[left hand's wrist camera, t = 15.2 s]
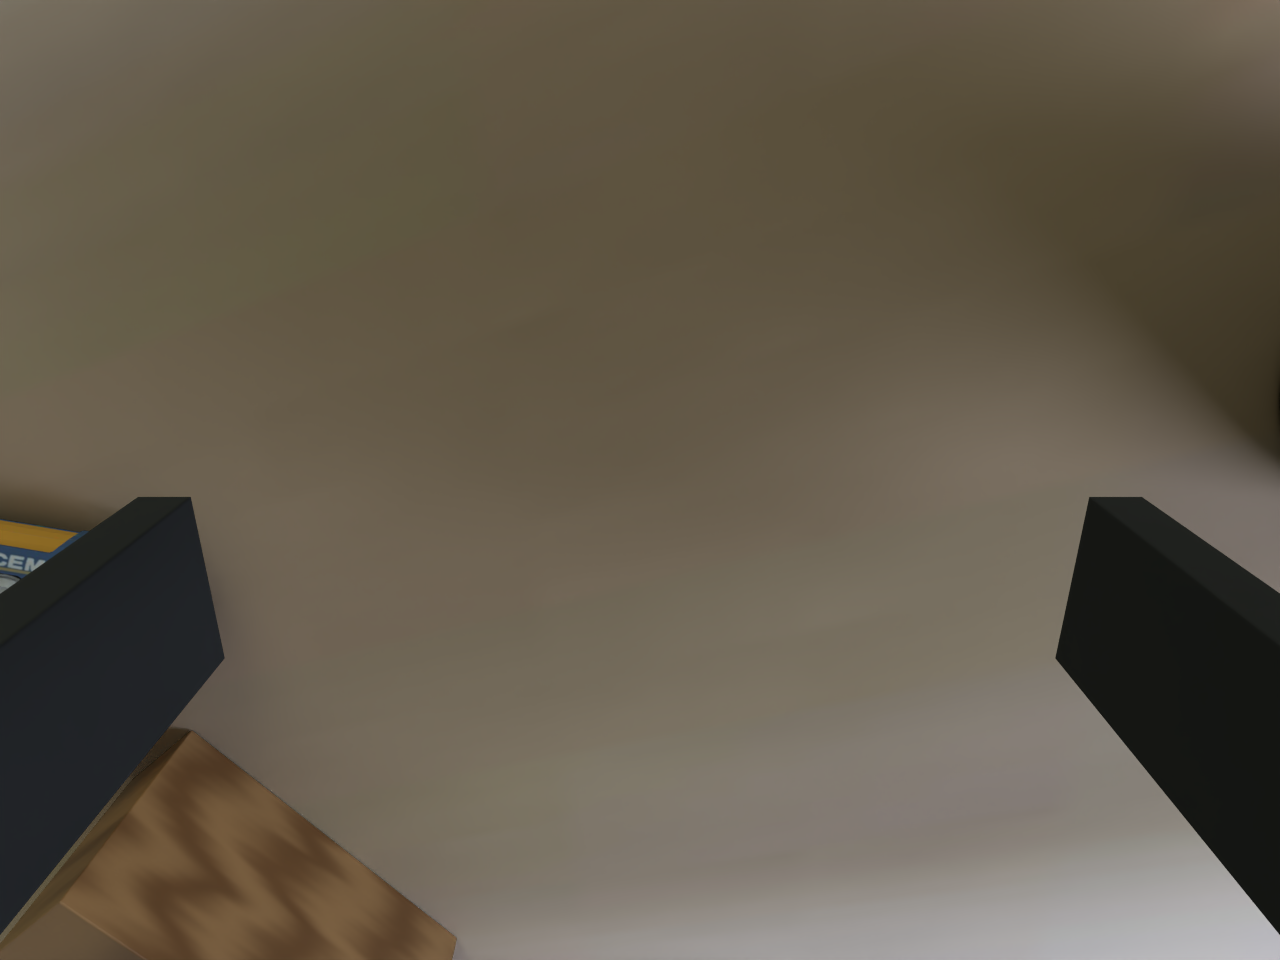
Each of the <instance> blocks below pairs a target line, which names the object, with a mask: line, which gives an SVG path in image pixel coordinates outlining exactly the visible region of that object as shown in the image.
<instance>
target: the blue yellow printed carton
mask: <svg viewBox="0 0 1280 960" xmlns="http://www.w3.org/2000/svg"><path fill="white" fill-rule="evenodd" d="M88 532H89V531H81V532H75V531H69V530H63V529H57V528H51V527H45V526H39V525H33V524H27V523H21V522H15V521H9V520H3V519H0V593H2V592H3V591H5V590H6V589H7V588H9V587H10V586H12V585H13V584H15V583H16V582H17V581H19V580H20V579H22V578H23V577H25V576H26V575H27V574H29V573H30V572H32V571H33V570H35V569H36V568H38V567H39V566H40V565H42V564H43V563H45V562H46V561H48V560H49V559H50V558H52V557H53V556H55V555H56V554H58V553H59V552H60V551H62V550H63V549H65V548H66V547H68V546H69V545H70V544H72V543H73V542H75V541H76V540H78V539H79V538H80V537H82V536H83V535H85V534H86V533H88Z"/></svg>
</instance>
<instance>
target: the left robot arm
mask: <svg viewBox="0 0 1280 960" xmlns="http://www.w3.org/2000/svg"><path fill="white" fill-rule="evenodd" d="M223 659H224V653H223V649H222V644H221V639H220V634H219V630H218V625H217V620H216V615H215V611H214V606H213V601H212V596H211V592H210V587H209V582H208V577H207V573H206V568H205V563H204V558H203V554H202V549H201V544H200V539H199V535H198V530H197V525H196V520H195V516H194V511H193V506H192V501H191V497H138V498H136V499H135V500H133V501H132V502H130V503H129V504H128V505H126V506H125V507H123V508H122V509H120V510H119V511H118V512H116V513H115V514H113V515H112V516H110V517H109V518H108V519H106V520H105V521H103V522H102V523H100V524H99V525H98V526H96V527H95V528H93V529H92V530H90V531H89V532H88V533H86V534H85V535H83V536H82V537H80V538H79V539H78V540H76V541H75V542H73V543H72V544H70V545H69V546H68V547H66V548H65V549H63V550H62V551H60V552H59V553H58V554H56V555H55V556H53V557H52V558H50V559H49V560H48V561H46V562H45V563H43V564H42V565H40V566H39V567H38V568H36V569H35V570H33V571H32V572H30V573H29V574H27V575H26V576H25V577H23V578H22V579H20V580H19V581H17V582H16V583H15V584H13V585H12V586H10V587H9V588H7V589H6V590H5V591H3V592H2V593H0V934H1V933H2V932H3V931H4V929H5V928H6V927H7V926H8V924H9V923H10V922H11V921H12V920H13V918H14V917H15V916H16V915H17V913H18V912H19V911H20V910H21V908H22V907H23V906H24V905H25V904H26V902H27V901H28V900H29V899H30V897H31V896H32V895H33V894H34V892H35V891H36V890H37V889H38V888H39V886H40V885H41V884H42V883H43V881H44V880H45V879H46V878H47V876H48V875H49V874H50V873H51V871H52V870H53V869H54V868H55V867H56V865H57V864H58V863H59V862H60V860H61V859H62V858H63V857H64V855H65V854H66V853H67V852H68V851H69V849H70V848H71V847H72V846H73V844H74V843H75V842H76V841H77V839H78V838H79V837H80V836H81V835H82V833H83V832H84V831H85V830H86V828H87V827H88V826H89V825H90V823H91V822H92V821H93V820H94V818H95V817H96V816H97V815H98V814H99V812H100V811H101V810H102V809H103V807H104V806H105V805H106V804H107V802H108V801H109V800H110V799H111V798H112V796H113V795H114V794H115V793H116V791H117V790H118V789H119V788H120V786H121V785H122V784H123V783H124V782H125V780H126V779H127V778H128V777H129V775H130V774H131V773H132V772H133V770H134V769H135V768H136V767H137V765H138V764H139V763H140V762H141V761H142V759H143V758H144V757H145V756H146V754H147V753H148V752H149V751H150V749H151V748H152V747H153V746H154V745H155V743H156V742H157V741H158V740H159V738H160V737H161V736H162V735H163V733H164V732H165V731H166V730H167V729H168V727H169V726H170V725H171V724H172V722H173V721H174V720H175V719H176V717H177V716H178V715H179V714H180V712H181V711H182V710H183V709H184V708H185V706H186V705H187V704H188V703H189V701H190V700H191V699H192V698H193V696H194V695H195V694H196V693H197V692H198V690H199V689H200V688H201V687H202V685H203V684H204V683H205V682H206V680H207V679H208V678H209V677H210V676H211V674H212V673H213V672H214V671H215V669H216V668H217V667H218V666H219V664H220V663H221V662H222V661H223ZM1056 659H1057V661H1058V662H1059V663H1060V664H1061V666H1062V667H1063V668H1064V669H1065V671H1066V672H1067V673H1068V674H1069V676H1070V677H1071V678H1072V679H1073V680H1074V682H1075V683H1076V684H1077V685H1078V687H1079V688H1080V689H1081V690H1082V692H1083V693H1084V694H1085V695H1086V696H1087V698H1088V699H1089V700H1090V701H1091V703H1092V704H1093V705H1094V706H1095V708H1096V709H1097V710H1098V711H1099V712H1100V714H1101V715H1102V716H1103V717H1104V719H1105V720H1106V721H1107V722H1108V724H1109V725H1110V726H1111V727H1112V729H1113V730H1114V731H1115V732H1116V733H1117V735H1118V736H1119V737H1120V738H1121V740H1122V741H1123V742H1124V743H1125V745H1126V746H1127V747H1128V748H1129V749H1130V751H1131V752H1132V753H1133V754H1134V756H1135V757H1136V758H1137V759H1138V761H1139V762H1140V763H1141V764H1142V765H1143V767H1144V768H1145V769H1146V770H1147V772H1148V773H1149V774H1150V775H1151V777H1152V778H1153V779H1154V780H1155V782H1156V783H1157V784H1158V785H1159V786H1160V788H1161V789H1162V790H1163V791H1164V793H1165V794H1166V795H1167V796H1168V798H1169V799H1170V800H1171V801H1172V802H1173V804H1174V805H1175V806H1176V807H1177V809H1178V810H1179V811H1180V812H1181V814H1182V815H1183V816H1184V817H1185V818H1186V820H1187V821H1188V822H1189V823H1190V825H1191V826H1192V827H1193V828H1194V830H1195V831H1196V832H1197V833H1198V835H1199V836H1200V837H1201V838H1202V839H1203V841H1204V842H1205V843H1206V844H1207V846H1208V847H1209V848H1210V849H1211V851H1212V852H1213V853H1214V854H1215V855H1216V857H1217V858H1218V859H1219V860H1220V862H1221V863H1222V864H1223V865H1224V867H1225V868H1226V869H1227V870H1228V871H1229V873H1230V874H1231V875H1232V876H1233V878H1234V879H1235V880H1236V881H1237V883H1238V884H1239V885H1240V886H1241V888H1242V889H1243V890H1244V891H1245V892H1246V894H1247V895H1248V896H1249V897H1250V899H1251V900H1252V901H1253V902H1254V904H1255V905H1256V906H1257V907H1258V908H1259V910H1260V911H1261V912H1262V913H1263V915H1264V916H1265V917H1266V918H1267V920H1268V921H1269V922H1270V923H1271V924H1272V926H1273V927H1274V928H1275V929H1276V931H1277V932H1278V933H1279V934H1280V593H1278V592H1277V591H1275V590H1274V589H1273V588H1271V587H1270V586H1268V585H1267V584H1265V583H1264V582H1263V581H1261V580H1260V579H1258V578H1257V577H1255V576H1254V575H1253V574H1251V573H1250V572H1248V571H1247V570H1245V569H1244V568H1242V567H1241V566H1240V565H1238V564H1237V563H1235V562H1234V561H1232V560H1231V559H1230V558H1228V557H1227V556H1225V555H1224V554H1222V553H1221V552H1220V551H1218V550H1217V549H1215V548H1214V547H1212V546H1211V545H1210V544H1208V543H1207V542H1205V541H1204V540H1202V539H1201V538H1200V537H1198V536H1197V535H1195V534H1194V533H1192V532H1191V531H1190V530H1188V529H1187V528H1185V527H1184V526H1182V525H1181V524H1180V523H1178V522H1177V521H1175V520H1174V519H1172V518H1171V517H1170V516H1168V515H1167V514H1165V513H1164V512H1162V511H1161V510H1160V509H1158V508H1157V507H1155V506H1154V505H1152V504H1151V503H1150V502H1148V501H1147V500H1145V499H1144V498H1142V497H1089V501H1088V506H1087V511H1086V516H1085V520H1084V525H1083V530H1082V535H1081V539H1080V544H1079V549H1078V554H1077V558H1076V563H1075V568H1074V573H1073V577H1072V582H1071V587H1070V592H1069V596H1068V601H1067V606H1066V611H1065V615H1064V620H1063V625H1062V630H1061V634H1060V639H1059V644H1058V649H1057V653H1056Z"/></svg>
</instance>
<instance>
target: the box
mask: <svg viewBox="0 0 1280 960" xmlns="http://www.w3.org/2000/svg"><path fill="white" fill-rule="evenodd" d="M456 940H457V938H456V937H455V936H454V935H452V934H451V933H450V932H448V931H447V930H446V929H445V928H443V927H442V926H441V925H440V924H438V923H437V922H436V921H434V920H433V919H432V918H431V917H429V916H428V915H427V914H426V913H424V912H423V911H422V910H420V909H419V908H418V907H417V906H415V905H414V904H413V903H412V902H410V901H409V900H408V899H406V898H405V897H404V896H403V895H401V894H400V893H399V892H397V891H396V890H395V889H394V888H392V887H391V886H390V885H389V884H387V883H386V882H385V881H383V880H382V879H381V878H380V877H378V876H377V875H376V874H375V873H373V872H372V871H371V870H369V869H368V868H367V867H366V866H364V865H363V864H362V863H360V862H359V861H358V860H357V859H355V858H354V857H353V856H352V855H350V854H349V853H348V852H346V851H345V850H344V849H343V848H341V847H340V846H339V845H338V844H336V843H335V842H334V841H332V840H331V839H330V838H329V837H327V836H326V835H325V834H324V833H322V832H321V831H320V830H318V829H317V828H316V827H315V826H313V825H312V824H311V823H309V822H308V821H307V820H306V819H304V818H303V817H302V816H301V815H299V814H298V813H297V812H295V811H294V810H293V809H292V808H290V807H289V806H288V805H287V804H285V803H284V802H283V801H281V800H280V799H279V798H278V797H276V796H275V795H274V794H272V793H271V792H270V791H269V790H267V789H266V788H265V787H264V786H262V785H261V784H260V783H258V782H257V781H256V780H255V779H253V778H252V777H251V776H250V775H248V774H247V773H246V772H244V771H243V770H242V769H241V768H239V767H238V766H237V765H236V764H234V763H233V762H232V761H230V760H229V759H228V758H227V757H225V756H224V755H223V754H221V753H220V752H219V751H218V750H216V749H215V748H214V747H213V746H211V745H210V744H209V743H207V742H206V741H205V740H204V739H202V738H201V737H200V736H199V735H197V734H196V733H195V732H193V731H190V732H188V733H187V734H186V735H185V736H184V737H182V738H181V739H180V740H179V741H178V742H177V743H175V744H174V745H173V746H172V747H171V748H169V749H168V750H167V751H166V752H165V753H163V754H162V755H161V756H160V757H159V758H158V759H156V760H155V761H154V762H153V763H152V764H150V765H149V766H148V767H147V768H146V769H145V770H143V771H142V772H141V773H140V774H139V775H137V776H136V777H135V778H134V779H133V780H131V782H130V783H129V784H128V785H127V786H126V788H125V789H124V790H123V791H122V793H121V794H120V795H119V796H118V798H117V799H116V800H115V801H114V803H113V804H112V805H111V806H110V808H109V809H108V810H107V811H106V813H105V814H104V815H103V816H102V818H101V819H100V820H99V821H98V823H97V824H96V825H95V826H94V828H93V829H92V830H91V831H90V833H89V834H88V835H87V836H86V838H85V839H84V840H83V841H82V843H81V844H80V845H79V846H78V848H77V849H76V850H75V851H74V853H73V854H72V855H71V856H70V858H69V859H68V860H67V861H66V863H65V864H64V865H63V866H62V868H61V869H60V870H59V871H58V873H57V874H56V875H55V876H54V878H53V879H52V880H51V881H50V882H49V884H48V885H47V886H46V887H45V889H44V890H43V891H42V892H41V894H40V895H39V896H38V897H37V899H36V900H35V901H34V902H33V904H32V905H31V906H30V907H29V909H28V910H27V911H26V912H25V914H24V915H23V916H22V917H21V919H20V920H19V921H18V922H17V924H16V925H15V926H14V927H13V929H12V930H11V931H10V932H9V934H8V935H7V936H6V937H5V939H4V940H3V941H2V942H1V944H0V960H452V957H453V953H454V949H455V944H456Z"/></svg>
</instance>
